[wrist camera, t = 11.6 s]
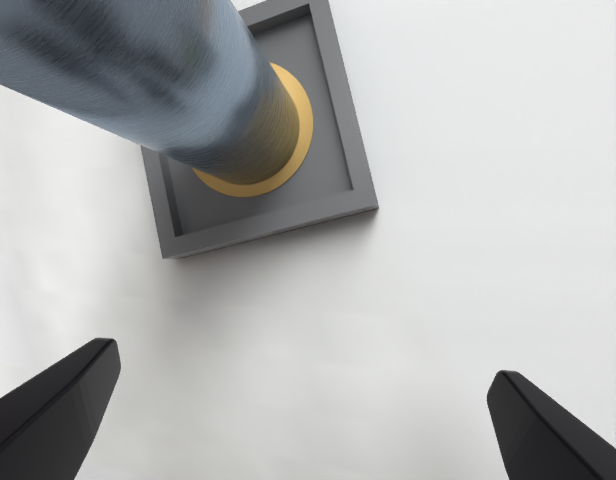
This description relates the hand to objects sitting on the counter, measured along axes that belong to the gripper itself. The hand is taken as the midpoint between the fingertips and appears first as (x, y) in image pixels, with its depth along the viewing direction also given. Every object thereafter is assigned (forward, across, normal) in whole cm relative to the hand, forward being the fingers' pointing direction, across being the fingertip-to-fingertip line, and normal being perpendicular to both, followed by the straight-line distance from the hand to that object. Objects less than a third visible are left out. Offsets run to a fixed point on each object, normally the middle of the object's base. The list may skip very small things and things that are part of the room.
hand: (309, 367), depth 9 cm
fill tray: (+14, +3, -2) cm, 14 cm away
